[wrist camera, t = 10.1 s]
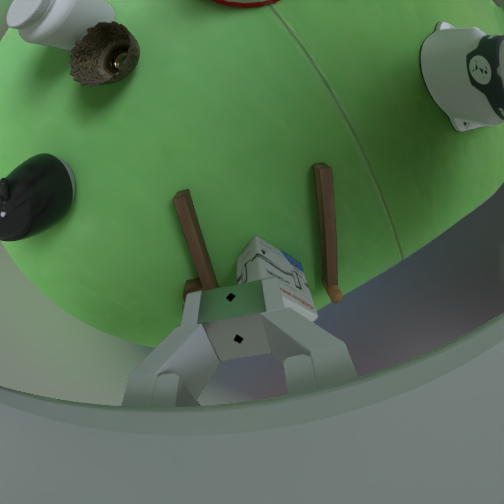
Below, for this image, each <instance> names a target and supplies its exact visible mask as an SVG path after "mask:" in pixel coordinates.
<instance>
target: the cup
mask: <svg viewBox="0 0 504 504" xmlns="http://www.w3.org/2000/svg"><path fill="white" fill-rule="evenodd" d="M87 33H88V34H87V35H86V36H84V37H83V39H82V40H80V41H76V42H75V45H76V46H75V47H73V48H72V49H71V50H70V52H69V55H70V57H71V59H72V61H70V62H69V63H68V65H69V66H70V67H72V68H73V69H72V70H71V72H70V75H72V76H73V80H74V81H76V82H81V83H80V85H82V86H83V85H88V86H96V85H104V84H110V83H114V82H117V81H120V80H122V79H124V78H125V77H126V76H128V75H129V74H130V73H131V72H132V71H133V70H134V68H135V67H136V65H137V63H138V60H139V56H140V48H139V45H138V42H137V40H136V39H135V38H134V36H133V35H132V34H131V33H130V32H129V31H128V29H127V28H126V27H125V26H124V25H122V24H120V25H119V24H118V23H117V22H114V21H112V22H111V23H109V22H98V23H97V24H96V25H95V26H94V27H90V28H88V29H87ZM124 56H127V57H126V59H125V62H124V63H123V64H122V65H121V67H120V65H119V61H120V59H121V58H122V57H124Z"/></svg>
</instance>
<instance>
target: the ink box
mask: <svg viewBox="0 0 504 504" xmlns="http://www.w3.org/2000/svg"><path fill="white" fill-rule="evenodd" d="M272 276H277V277H278V281H279V285H280V290H281V294H282V298H283V303H284V307H285V308H288V307H290V308H291V309H293V310H294V311H296V312H297V313H299V314H301V315H302V316H304V317H305V318H307V319H308V320H310V321H311V322H314V321H315V320H316V319H317V318H318V314H317V311H316V308H315V305H314V302H313V299H312V296H311V293H310V290H309V287H308V284H307V281H306V278H305V275H304V272H303V269H302V266H301V263H300V262H298V261H296V260H295V259H293V258H292V257H290V256H288V255H287V254H285V253H284V252H282V251H280V250H279V249H277V248H275V247H274V246H272V245H271V244H269V243H268V242H266V241H264V240H263V239H261V238H259V237H257V236H255V237H254V238H253V239H252V240H251V242H250V243H249V244H248V246H247V247H246V248H245V249H244V250H243V252H242V253H241V254H240V256H239V257H238V258H237V285H238V284H242V283H247V282H252V281H257V280H262V279H264V278H268V277H272Z"/></svg>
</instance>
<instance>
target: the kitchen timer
mask: <svg viewBox="0 0 504 504" xmlns="http://www.w3.org/2000/svg"><path fill="white" fill-rule="evenodd" d="M212 1H214V2H218V3H221V4H224V5H227V6H236V7H257V6H264V5H267V4H271V3H275V2H277V1H279V0H212Z"/></svg>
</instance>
